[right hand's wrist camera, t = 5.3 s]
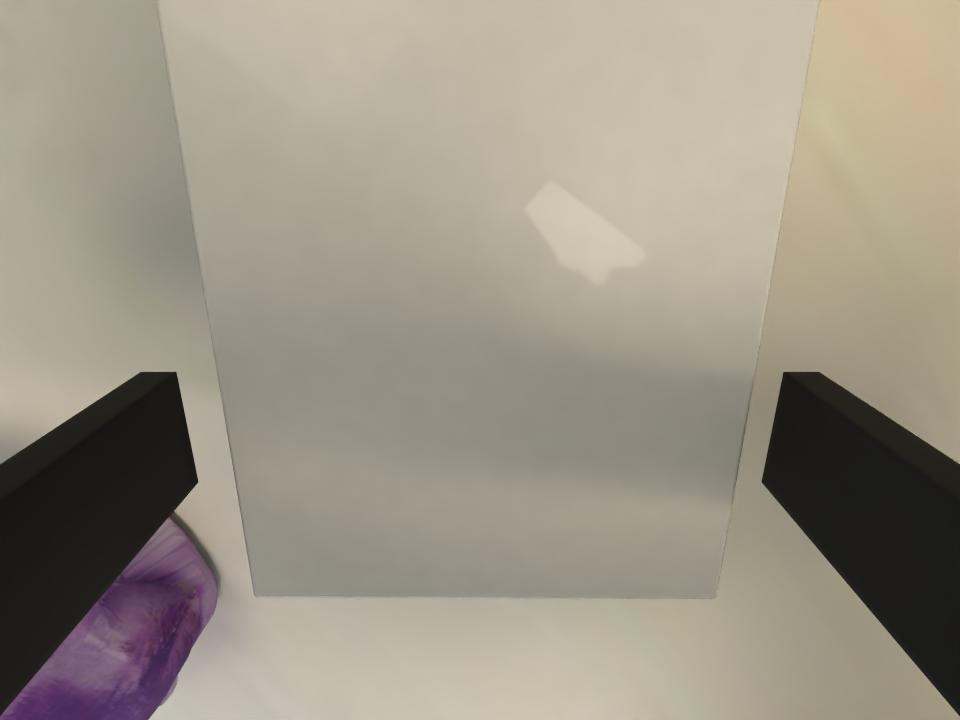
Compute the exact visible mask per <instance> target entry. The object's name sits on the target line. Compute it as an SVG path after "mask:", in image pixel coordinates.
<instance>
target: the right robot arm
mask: <svg viewBox="0 0 960 720" xmlns="http://www.w3.org/2000/svg"><path fill="white" fill-rule="evenodd" d="M197 483H198V478H197V473H196V468H195V463H194V458H193V453H192V448H191V443H190V438H189V433H188V428H187V423H186V418H185V413H184V408H183V403H182V398H181V393H180V388H179V383H178V378H177V373H176V372H140V373H139V374H137V375H136V376H134V377H133V378H131V379H130V380H128V381H127V382H125V383H123V384H122V385H120V386H119V387H117V388H116V389H114V390H113V391H111V392H110V393H108V394H107V395H105V396H104V397H102V398H101V399H99V400H98V401H96V402H95V403H93V404H91V405H90V406H88V407H87V408H85V409H84V410H82V411H81V412H79V413H78V414H76V415H75V416H73V417H72V418H70V419H69V420H67V421H66V422H64V423H63V424H61V425H60V426H58V427H56V428H55V429H53V430H52V431H50V432H49V433H47V434H46V435H44V436H43V437H41V438H40V439H38V440H37V441H35V442H34V443H32V444H31V445H29V446H28V447H26V448H25V449H23V450H21V451H20V452H18V453H17V454H15V455H14V456H12V457H11V458H9V459H8V460H6V461H5V462H3V463H2V464H0V716H1V715H2V714H3V712H4V711H5V710H6V709H7V708H8V706H9V705H10V704H11V703H12V702H13V701H14V699H15V698H16V697H17V696H18V695H19V693H20V692H21V691H22V690H23V689H24V688H25V686H26V685H27V684H28V683H29V682H30V680H31V679H32V678H33V677H34V676H35V675H36V673H37V672H38V671H39V670H40V669H41V667H42V666H43V665H44V664H45V663H46V662H47V660H48V659H49V658H50V657H51V656H52V654H53V653H54V652H55V651H56V650H57V649H58V647H59V646H60V645H61V644H62V643H63V641H64V640H65V639H66V638H67V637H68V636H69V634H70V633H71V632H72V631H73V630H74V628H75V627H76V626H77V625H78V624H79V623H80V621H81V620H82V619H83V618H84V617H85V615H86V614H87V613H88V612H89V611H90V610H91V608H92V607H93V606H94V605H95V604H96V602H97V601H98V600H99V599H100V598H101V597H102V595H103V594H104V593H105V592H106V591H107V589H108V588H109V587H110V586H111V585H112V584H113V582H114V581H115V580H116V579H117V578H118V576H119V575H120V574H121V573H122V572H123V571H124V569H125V568H126V567H127V566H128V565H129V563H130V562H131V561H132V560H133V559H134V558H135V556H136V555H137V554H138V553H139V552H140V550H141V549H142V548H143V547H144V546H145V545H146V543H147V542H148V541H149V540H150V539H151V537H152V536H153V535H154V534H155V533H156V532H157V530H158V529H159V528H160V527H161V526H162V524H163V523H164V522H165V521H166V520H167V519H168V517H169V516H170V515H171V514H172V513H173V511H174V510H175V509H176V508H177V507H178V506H179V504H180V503H181V502H182V501H183V500H184V498H185V497H186V496H187V495H188V494H189V493H190V491H191V490H192V489H193V488H194V487H195V485H196V484H197ZM762 483H763V484H764V485H765V487H766V488H767V489H768V490H769V491H770V493H771V494H772V495H773V496H774V497H775V498H776V500H777V501H778V502H779V503H780V504H781V506H782V507H783V508H784V509H785V510H786V511H787V513H788V514H789V515H790V516H791V517H792V519H793V520H794V521H795V522H796V523H797V524H798V526H799V527H800V528H801V529H802V530H803V532H804V533H805V534H806V535H807V536H808V537H809V539H810V540H811V541H812V542H813V543H814V545H815V546H816V547H817V548H818V549H819V550H820V552H821V553H822V554H823V555H824V556H825V558H826V559H827V560H828V561H829V562H830V563H831V565H832V566H833V567H834V568H835V569H836V571H837V572H838V573H839V574H840V575H841V576H842V578H843V579H844V580H845V581H846V582H847V584H848V585H849V586H850V587H851V588H852V589H853V591H854V592H855V593H856V594H857V595H858V597H859V598H860V599H861V600H862V601H863V602H864V604H865V605H866V606H867V607H868V608H869V610H870V611H871V612H872V613H873V614H874V615H875V617H876V618H877V619H878V620H879V621H880V623H881V624H882V625H883V626H884V627H885V628H886V630H887V631H888V632H889V633H890V634H891V636H892V637H893V638H894V639H895V640H896V641H897V643H898V644H899V645H900V646H901V647H902V649H903V650H904V651H905V652H906V653H907V654H908V656H909V657H910V658H911V659H912V660H913V662H914V663H915V664H916V665H917V666H918V667H919V669H920V670H921V671H922V672H923V673H924V675H925V676H926V677H927V678H928V679H929V680H930V682H931V683H932V684H933V685H934V686H935V688H936V689H937V690H938V691H939V692H940V693H941V695H942V696H943V697H944V698H945V699H946V701H947V702H948V703H949V704H950V705H951V706H952V708H953V709H954V710H955V711H956V712H957V714H958V715H959V716H960V464H958V463H957V462H955V461H954V460H952V459H951V458H949V457H948V456H946V455H945V454H943V453H942V452H940V451H939V450H937V449H935V448H934V447H932V446H931V445H929V444H928V443H926V442H925V441H923V440H922V439H920V438H919V437H917V436H916V435H914V434H913V433H911V432H910V431H908V430H907V429H905V428H904V427H902V426H900V425H899V424H897V423H896V422H894V421H893V420H891V419H890V418H888V417H887V416H885V415H884V414H882V413H881V412H879V411H878V410H876V409H875V408H873V407H872V406H870V405H869V404H867V403H865V402H864V401H862V400H861V399H859V398H858V397H856V396H855V395H853V394H852V393H850V392H849V391H847V390H846V389H844V388H843V387H841V386H840V385H838V384H837V383H835V382H833V381H832V380H830V379H829V378H827V377H826V376H824V375H823V374H821V373H820V372H784V373H783V378H782V383H781V388H780V393H779V398H778V403H777V408H776V413H775V418H774V423H773V428H772V433H771V438H770V443H769V448H768V453H767V458H766V463H765V468H764V473H763V478H762Z"/></svg>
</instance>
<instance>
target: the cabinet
mask: <svg viewBox="0 0 960 720" xmlns="http://www.w3.org/2000/svg"><path fill="white" fill-rule="evenodd" d="M819 2H820V0H156V6H157V12H158V18H159V24H160V30H161V36H162V42H163V48H164V54H165V60H166V66H167V72H168V78H169V84H170V90H171V96H172V102H173V108H174V114H175V120H176V126H177V132H178V138H179V144H180V150H181V157H182V163H183V169H184V175H185V181H186V187H187V193H188V199H189V205H190V211H191V217H192V223H193V229H194V235H195V241H196V247H197V253H198V259H199V265H200V271H201V277H202V283H203V289H204V295H205V301H206V307H207V313H208V319H209V325H210V331H211V337H212V343H213V349H214V355H215V361H216V367H217V373H218V379H219V385H220V391H221V397H222V404H223V410H224V416H225V422H226V428H227V434H228V440H229V446H230V452H231V458H232V464H233V470H234V476H235V482H236V488H237V494H238V500H239V506H240V512H241V518H242V524H243V530H244V536H245V542H246V548H247V554H248V560H249V566H250V572H251V578H252V584H253V590H254V595H255V597H258V598H627V599H713V598H715V597H716V595H717V589H718V583H719V577H720V572H721V566H722V560H723V554H724V549H725V543H726V537H727V531H728V526H729V520H730V514H731V508H732V503H733V497H734V491H735V485H736V480H737V474H738V468H739V462H740V457H741V451H742V445H743V439H744V434H745V428H746V422H747V416H748V411H749V405H750V399H751V393H752V388H753V382H754V376H755V370H756V365H757V359H758V353H759V347H760V342H761V336H762V330H763V324H764V319H765V313H766V307H767V301H768V296H769V290H770V284H771V278H772V273H773V267H774V261H775V255H776V250H777V244H778V238H779V232H780V227H781V221H782V215H783V209H784V204H785V198H786V192H787V186H788V181H789V175H790V169H791V163H792V158H793V152H794V146H795V140H796V135H797V129H798V123H799V117H800V112H801V106H802V100H803V94H804V89H805V83H806V77H807V71H808V66H809V60H810V54H811V48H812V43H813V37H814V31H815V25H816V20H817V14H818V8H819Z"/></svg>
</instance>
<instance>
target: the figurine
mask: <svg viewBox="0 0 960 720" xmlns="http://www.w3.org/2000/svg"><path fill="white" fill-rule="evenodd" d="M216 604H217V584H216V578H215V575H214V572H213V571H212V570H211V569H210V567H209V566H208V565H207V563H206V562H205V560H204V559H203V557H202V556H201V554H200V553H199V551H198V550H197V549H196V547H195V546H194V544H193V543H192V542H191V540H190V539H189V538H188V536H187V535H186V533H185V532H184V531H183V530H182V529H181V528H180V527H179V526H178V525H177V524H176V523H175V522H174V521H173V520H172V519H171V518H170V516H169V517H168V519H167V520H166V521H165V522H164V523H163V524H162V526H161V527H160V528H159V529H158V530H157V532H156V533H155V534H154V535H153V536H152V537H151V539H150V540H149V541H148V542H147V543H146V545H145V546H144V547H143V548H142V549H141V550H140V552H139V553H138V554H137V555H136V556H135V558H134V559H133V560H132V561H131V562H130V563H129V565H128V566H127V567H126V568H125V569H124V571H123V572H122V573H121V574H120V575H119V576H118V578H117V579H116V580H115V581H114V582H113V584H112V585H111V586H110V587H109V588H108V589H107V591H106V592H105V593H104V594H103V595H102V597H101V598H100V599H99V600H98V601H97V602H96V604H95V605H94V606H93V607H92V608H91V610H90V611H89V612H88V613H87V614H86V615H85V617H84V618H83V619H82V620H81V621H80V623H79V624H78V625H77V626H76V627H75V628H74V630H73V631H72V632H71V633H70V634H69V636H68V637H67V638H66V639H65V640H64V641H63V643H62V644H61V645H60V646H59V647H58V649H57V650H56V651H55V652H54V653H53V654H52V656H51V657H50V658H49V659H48V660H47V662H46V663H45V664H44V665H43V666H42V667H41V669H40V670H39V671H38V672H37V673H36V675H35V676H34V677H33V678H32V679H31V680H30V682H29V683H28V684H27V685H26V686H25V688H24V689H23V690H22V691H21V692H20V693H19V695H18V696H17V697H16V698H15V699H14V701H13V702H12V703H11V704H10V705H9V706H8V708H7V709H6V710H5V711H4V712H3V714H2V715H1V716H0V720H148V719H149V718H150V717H151V716H152V714H153V713H154V712H155V710H156V709H157V708H158V706H160V705H162V704H163V703H165V702H166V700H167V699H168V698H169V696H170V695H171V694H172V693H173V691H174V689H175V687H176V685H177V680H178V678H177V675H178V673H179V672H180V670H181V668H182V666H183V665H184V663H185V661H186V660H187V658H188V656H189V653H190V651H191V648H192V646H193V645H194V643H195V642H196V640H197V638H198V637H199V635H200V634H201V632H202V631H203V629H204V628H205V626H206V625H207V623H208V622H209V620H210V618H211V617H212V615H213V614H214V611H215V607H216Z"/></svg>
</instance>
